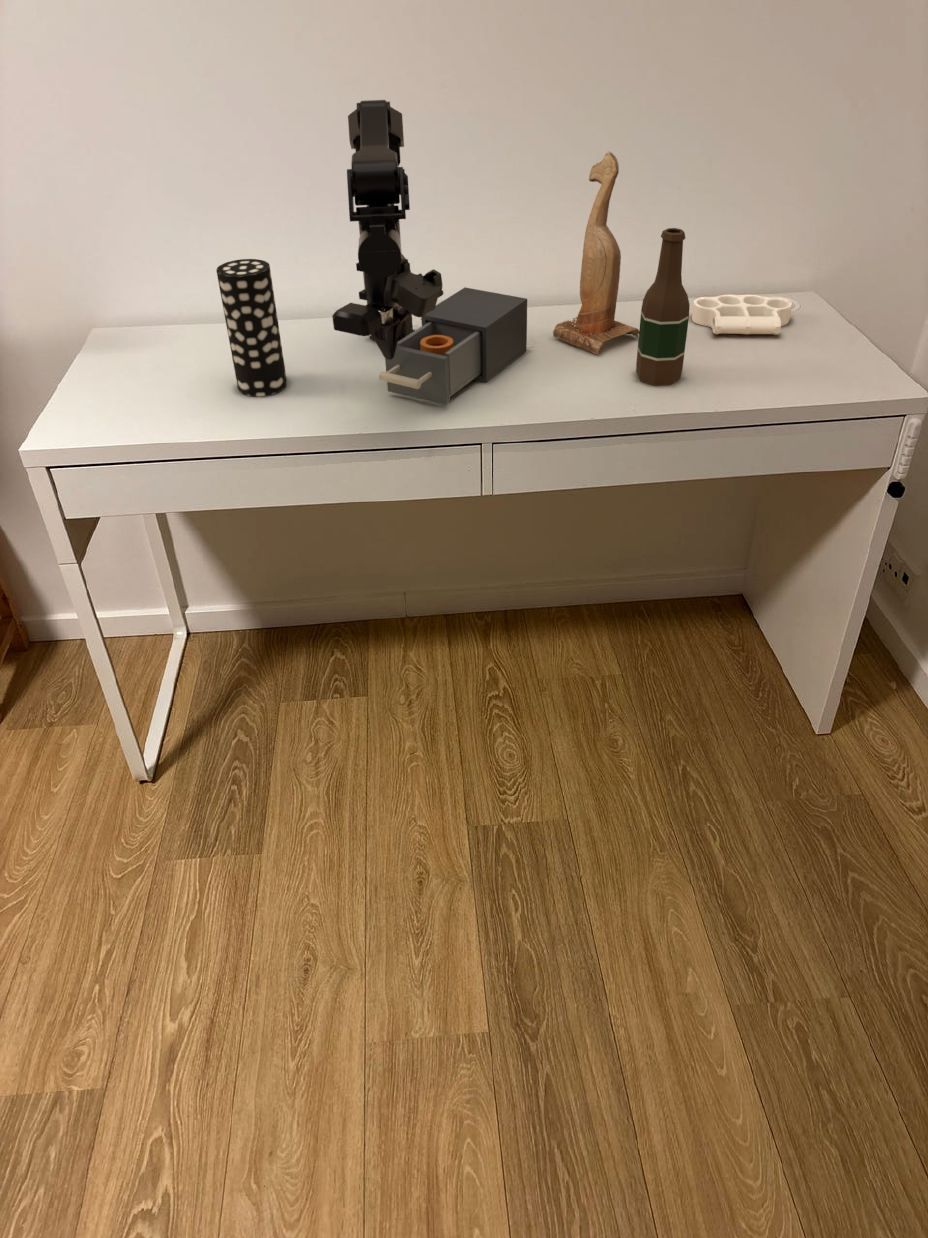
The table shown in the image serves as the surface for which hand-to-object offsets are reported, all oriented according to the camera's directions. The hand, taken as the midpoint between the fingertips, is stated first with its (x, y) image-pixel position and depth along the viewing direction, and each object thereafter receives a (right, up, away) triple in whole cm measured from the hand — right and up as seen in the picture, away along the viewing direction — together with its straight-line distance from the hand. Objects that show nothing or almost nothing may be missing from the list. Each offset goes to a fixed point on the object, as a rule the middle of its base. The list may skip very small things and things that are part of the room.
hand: (389, 358), depth 147 cm
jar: (+7, +1, +14) cm, 16 cm away
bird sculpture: (+36, +11, +30) cm, 48 cm away
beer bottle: (+44, +1, +17) cm, 47 cm away
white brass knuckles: (+63, +16, +34) cm, 73 cm away
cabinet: (+13, +6, +24) cm, 28 cm away
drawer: (+6, -1, +13) cm, 14 cm away
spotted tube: (-23, 0, +18) cm, 29 cm away
